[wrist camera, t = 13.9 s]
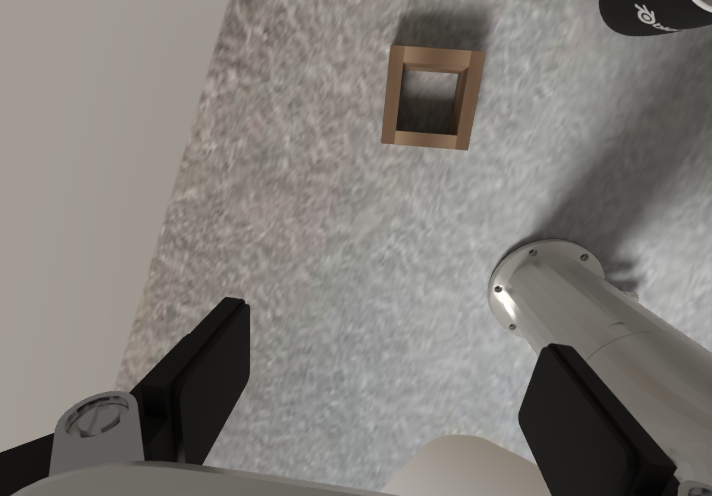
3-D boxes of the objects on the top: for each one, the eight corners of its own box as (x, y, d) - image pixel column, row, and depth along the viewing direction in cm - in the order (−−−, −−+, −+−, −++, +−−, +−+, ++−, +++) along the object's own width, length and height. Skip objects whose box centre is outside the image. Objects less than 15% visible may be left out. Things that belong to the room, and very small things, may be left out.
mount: (473, 60, 32) (486, 51, 28) (458, 147, 35) (467, 150, 31) (389, 54, 32) (390, 44, 28) (381, 141, 35) (381, 143, 31)
